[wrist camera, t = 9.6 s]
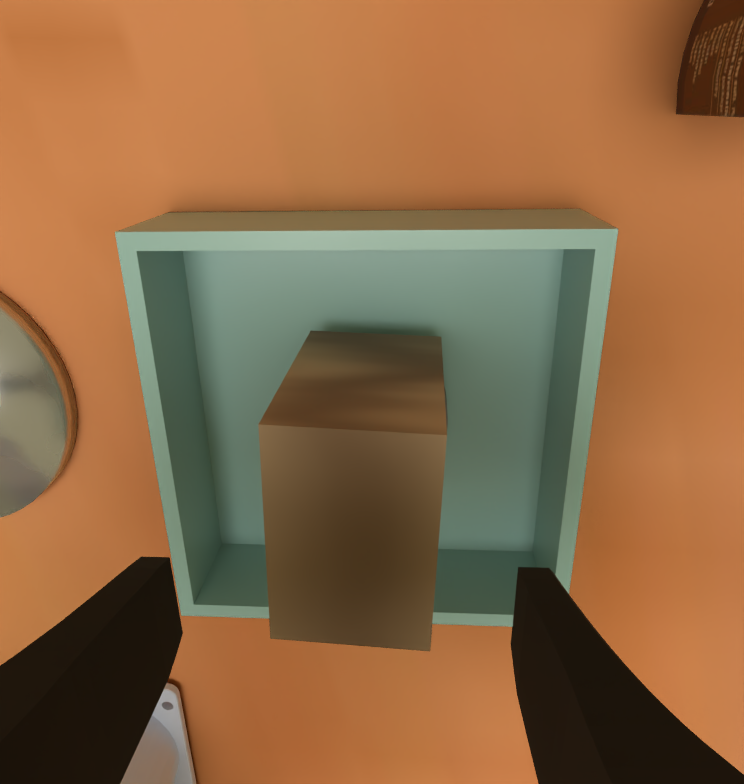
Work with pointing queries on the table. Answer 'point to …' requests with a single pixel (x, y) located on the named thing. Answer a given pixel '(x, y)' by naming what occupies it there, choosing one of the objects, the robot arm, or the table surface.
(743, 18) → the food container
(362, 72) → the table surface
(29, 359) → the steel base plate
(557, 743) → the robot arm
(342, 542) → the brown wooden block
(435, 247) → the teal bin
